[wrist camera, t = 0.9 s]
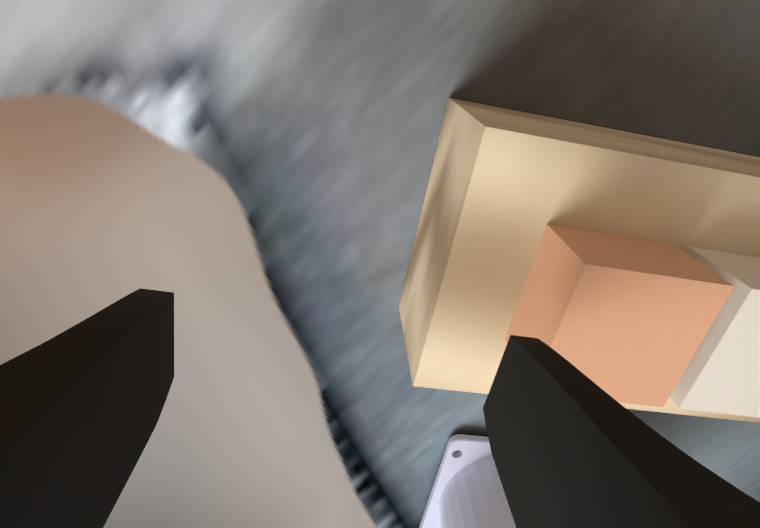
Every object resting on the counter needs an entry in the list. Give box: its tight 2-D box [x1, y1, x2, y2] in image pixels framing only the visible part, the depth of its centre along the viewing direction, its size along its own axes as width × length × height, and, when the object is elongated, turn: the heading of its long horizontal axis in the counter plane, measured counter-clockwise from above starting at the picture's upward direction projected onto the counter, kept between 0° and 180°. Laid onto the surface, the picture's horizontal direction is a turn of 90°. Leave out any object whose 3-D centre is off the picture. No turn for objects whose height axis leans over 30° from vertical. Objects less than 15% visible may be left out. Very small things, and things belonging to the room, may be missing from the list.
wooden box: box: [399, 98, 760, 423], centre depth 17 cm, size 9×14×5 cm, turn 79°
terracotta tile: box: [505, 224, 734, 407], centre depth 14 cm, size 4×4×2 cm
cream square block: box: [669, 247, 760, 418], centre depth 14 cm, size 4×4×2 cm
